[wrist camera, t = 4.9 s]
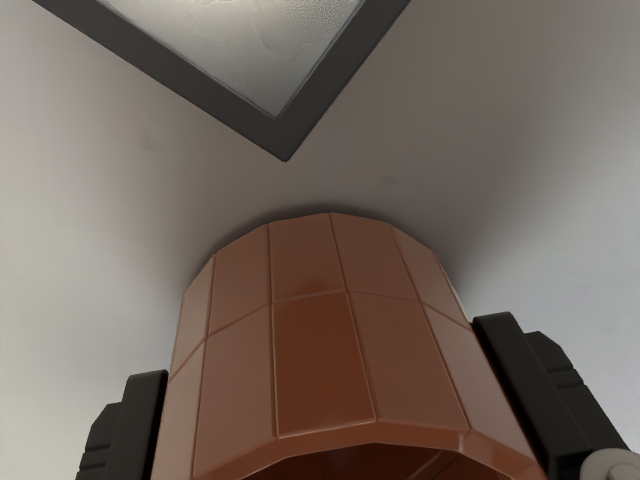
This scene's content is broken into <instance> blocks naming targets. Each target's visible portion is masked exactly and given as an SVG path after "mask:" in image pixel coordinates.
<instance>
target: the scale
mask: <svg viewBox="0 0 640 480" xmlns="http://www.w3.org/2000/svg"><path fill="white" fill-rule="evenodd" d="M32 1H34V2H35V3H37V4H39V5H40V6H42V7H43V8H45V9H46V10H48V11H49V12H51V13H53V14H54V15H56V16H57V17H59V18H60V19H62V20H63V21H65V22H67V23H68V24H70V25H71V26H73V27H74V28H76V29H77V30H79V31H80V32H82V33H84V34H85V35H87V36H88V37H90V38H91V39H93V40H94V41H96V42H98V43H99V44H101V45H102V46H104V47H105V48H107V49H108V50H110V51H112V52H113V53H115V54H116V55H118V56H119V57H121V58H122V59H124V60H126V61H127V62H129V63H130V64H132V65H133V66H135V67H136V68H138V69H139V70H141V71H143V72H144V73H146V74H147V75H149V76H150V77H152V78H153V79H155V80H157V81H158V82H160V83H161V84H163V85H164V86H166V87H167V88H169V89H171V90H172V91H174V92H175V93H177V94H178V95H180V96H181V97H183V98H185V99H186V100H188V101H189V102H191V103H192V104H194V105H195V106H197V107H199V108H200V109H202V110H203V111H205V112H206V113H208V114H209V115H211V116H212V117H214V118H216V119H217V120H219V121H220V122H222V123H223V124H225V125H226V126H228V127H230V128H231V129H233V130H234V131H236V132H237V133H239V134H240V135H242V136H244V137H245V138H247V139H248V140H250V141H251V142H253V143H254V144H256V145H258V146H259V147H261V148H262V149H264V150H265V151H267V152H268V153H270V154H271V155H273V156H275V157H276V158H278V159H279V160H281V161H283V162H287V161H289V160H290V158H291V157H292V156H293V154H294V153H295V152H296V151H297V149H298V148H299V147H300V145H301V144H302V143H303V141H304V140H305V139H306V137H307V136H308V135H309V134H310V132H311V131H312V130H313V128H314V127H315V126H316V124H317V123H318V122H319V120H320V119H321V118H322V116H323V115H324V114H325V113H326V111H327V110H328V109H329V107H330V106H331V105H332V103H333V102H334V101H335V99H336V98H337V97H338V95H339V94H340V93H341V92H342V90H343V89H344V88H345V86H346V85H347V84H348V82H349V81H350V80H351V78H352V77H353V76H354V75H355V73H356V72H357V71H358V69H359V68H360V67H361V65H362V64H363V63H364V61H365V60H366V59H367V57H368V56H369V55H370V54H371V52H372V51H373V50H374V48H375V47H376V46H377V44H378V43H379V42H380V40H381V39H382V38H383V36H384V35H385V34H386V33H387V31H388V30H389V29H390V27H391V26H392V25H393V23H394V22H395V21H396V19H397V18H398V17H399V15H400V14H401V13H402V12H403V10H404V9H405V8H406V6H407V5H408V4H409V2H410V1H411V0H366V1H365V3H364V4H363V5H362V7H361V8H360V10H359V11H358V12H357V14H356V15H355V16H354V18H353V19H352V21H351V22H350V23H349V25H348V26H347V27H346V29H345V30H344V31H343V33H342V34H341V36H340V37H339V38H338V40H337V41H336V42H335V44H334V45H333V47H332V48H331V49H330V51H329V52H328V53H327V55H326V56H325V58H324V59H323V60H322V62H321V63H320V64H319V66H318V67H317V68H316V70H315V71H314V73H313V74H312V75H311V77H310V78H309V79H308V81H307V82H306V84H305V85H304V86H303V88H302V89H301V90H300V92H299V93H298V95H297V96H296V97H295V99H294V100H293V101H292V103H291V104H290V105H289V107H288V108H287V110H286V111H285V112H284V114H283V115H282V116H281V118H279V119H278V120H274V119H271V118H270V117H268V116H267V115H265V114H264V113H262V112H261V111H259V110H258V109H256V108H255V107H253V106H252V105H250V104H249V103H247V102H246V101H244V100H243V99H241V98H240V97H238V96H237V95H235V94H234V93H232V92H231V91H229V90H228V89H226V88H225V87H223V86H222V85H220V84H219V83H217V82H216V81H214V80H213V79H212V78H210V77H209V76H207V75H206V74H204V73H203V72H201V71H200V70H198V69H197V68H195V67H194V66H192V65H191V64H189V63H188V62H186V61H185V60H183V59H182V58H180V57H179V56H177V55H176V54H174V53H173V52H171V51H170V50H168V49H167V48H165V47H164V46H162V45H161V44H159V43H158V42H157V41H155V40H154V39H152V38H151V37H149V36H148V35H146V34H145V33H143V32H142V31H140V30H139V29H137V28H136V27H134V26H133V25H131V24H130V23H128V22H127V21H125V20H124V19H122V18H121V17H119V16H118V15H116V14H115V13H113V12H112V11H110V10H109V9H107V8H106V7H104V6H103V5H101V4H100V3H99V2H97V1H96V0H32Z"/></svg>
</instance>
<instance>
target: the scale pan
mask: <svg viewBox="0 0 640 480" xmlns="http://www.w3.org/2000/svg"><path fill="white" fill-rule="evenodd" d="M96 1H97V2H99V3H100V4H101V5H103V6H104V7H106V8H107V9H109V10H110V11H112V12H113V13H115V14H116V15H118V16H119V17H121V18H122V19H124V20H125V21H127V22H128V23H130V24H131V25H133V26H134V27H136V28H137V29H139V30H140V31H142V32H143V33H145V34H146V35H148V36H149V37H151V38H152V39H154V40H155V41H157V42H158V43H159V44H161V45H162V46H164V47H165V48H167V49H168V50H170V51H171V52H173V53H174V54H176V55H177V56H179V57H180V58H182V59H183V60H185V61H186V62H188V63H189V64H191V65H192V66H194V67H195V68H197V69H198V70H200V71H201V72H203V73H204V74H206V75H207V76H209V77H210V78H212V79H213V80H214V81H216V82H217V83H219V84H220V85H222V86H223V87H225V88H226V89H228V90H229V91H231V92H232V93H234V94H235V95H237V96H238V97H240V98H241V99H243V100H244V101H246V102H247V103H249V104H250V105H252V106H253V107H255V108H256V109H258V110H259V111H261V112H262V113H264V114H265V115H267V116H268V117H270V118H271V119H274V120H278V119H279V118H281V116H282V115H283V114H284V112H285V111H286V110H287V108H288V107H289V105H290V104H291V103H292V101H293V100H294V99H295V97H296V96H297V95H298V93H299V92H300V90H301V89H302V88H303V86H304V85H305V84H306V82H307V81H308V79H309V78H310V77H311V75H312V74H313V73H314V71H315V70H316V68H317V67H318V66H319V64H320V63H321V62H322V60H323V59H324V58H325V56H326V55H327V53H328V52H329V51H330V49H331V48H332V47H333V45H334V44H335V42H336V41H337V40H338V38H339V37H340V36H341V34H342V33H343V31H344V30H345V29H346V27H347V26H348V25H349V23H350V22H351V21H352V19H353V18H354V16H355V15H356V14H357V12H358V11H359V10H360V8H361V7H362V5H363V4H364V3H365V1H366V0H96Z"/></svg>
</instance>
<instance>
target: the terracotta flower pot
mask: <svg viewBox="0 0 640 480" xmlns="http://www.w3.org/2000/svg"><path fill="white" fill-rule="evenodd" d="M150 480H551V479H550V477H549V475H548V473H547V471H546V469H545V467H544V465H543V463H542V461H541V459H540V457H539V455H538V453H537V451H536V449H535V447H534V445H533V443H532V441H531V439H530V437H529V435H528V433H527V431H526V429H525V427H524V425H523V423H522V421H521V419H520V417H519V415H518V413H517V411H516V409H515V407H514V405H513V403H512V401H511V399H510V397H509V395H508V393H507V391H506V389H505V387H504V385H503V383H502V381H501V379H500V377H499V375H498V374H497V371H496V369H495V367H494V365H493V363H492V361H491V359H490V357H489V355H488V353H487V351H486V349H485V347H484V345H483V343H482V341H481V339H480V337H479V335H478V333H477V331H476V329H475V328H474V326H473V324H472V322H471V320H470V318H469V316H468V314H467V312H466V310H465V308H464V306H463V304H462V302H461V300H460V298H459V296H458V294H457V292H456V290H455V288H454V286H453V284H452V283H451V281H450V279H449V278H448V276H447V274H446V272H445V271H444V269H443V267H442V265H441V264H440V262H439V260H438V259H437V257H436V255H435V253H434V252H432V251H431V250H430V249H428V248H427V247H425V246H424V245H422V244H421V243H419V242H418V241H416V240H415V239H413V238H411V237H410V236H408V235H407V234H405V233H404V232H402V231H401V230H399V229H398V228H396V227H395V226H393V225H391V224H388V223H387V222H384V221H379V220H374V219H368V218H363V217H357V216H352V215H347V214H341V213H336V212H330V213H329V214H328V213H320V214H314V215H308V216H302V217H296V218H290V219H284V220H278V221H272V222H270V223H269V225H268V224H267V223H266V224H263V225H261V226H260V227H258V228H256V229H254V230H253V231H251V232H249V233H247V234H246V235H244V236H242V237H240V238H239V239H237V240H235V241H233V242H232V243H230V244H228V245H226V246H225V247H223V248H221V249H219V250H218V251H217V253H215V254H214V255H213V256H212V257H211V258H210V260H209V261H208V262H207V264H206V265H205V266H204V268H203V269H202V270H201V271H200V273H199V274H198V275H197V277H196V278H195V279H194V281H193V282H192V283H191V285H190V286H189V287H188V289H187V290H186V291H185V295H184V296H183V297H182V303H181V309H180V314H179V320H178V326H177V331H176V337H175V343H174V348H173V354H172V360H171V365H170V371H169V377H168V382H167V388H166V394H165V399H164V405H163V411H162V416H161V422H160V428H159V433H158V439H157V445H156V450H155V456H154V462H153V467H152V473H151V479H150Z"/></svg>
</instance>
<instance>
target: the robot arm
mask: <svg viewBox="0 0 640 480" xmlns="http://www.w3.org/2000/svg"><path fill="white" fill-rule="evenodd" d="M472 324H473V326H474V328H475V329H476V331H477V333H478V335H479V337H480V339H481V341H482V343H483V345H484V347H485V349H486V351H487V353H488V355H489V357H490V359H491V361H492V363H493V365H494V367H495V369H496V371H497V374H498V375H499V377H500V379H501V381H502V383H503V385H504V387H505V389H506V391H507V393H508V395H509V397H510V399H511V401H512V403H513V405H514V407H515V409H516V411H517V413H518V415H519V417H520V419H521V421H522V423H523V425H524V427H525V429H526V431H527V433H528V435H529V437H530V439H531V441H532V443H533V445H534V447H535V449H536V451H537V453H538V455H539V457H540V459H541V461H542V463H543V465H544V467H545V469H546V471H547V473H548V475H549V477H550V479H551V480H640V454H638V453H635V452H632V451H631V450H630V449H629V448H628V446H627V445H626V444H625V442H624V441H623V439H622V438H621V436H620V435H619V433H618V432H617V430H616V429H615V428H614V426H613V425H612V423H611V422H610V420H609V419H608V417H607V416H606V414H605V413H604V411H603V410H602V408H601V407H600V405H599V404H598V402H597V401H596V399H595V398H594V396H593V395H592V393H591V392H590V390H589V389H588V387H587V386H586V385H584V383H583V380H582V378H581V377H580V375H579V374H578V372H577V371H576V369H574V368H573V365H572V363H571V362H570V360H569V359H568V357H567V356H566V354H565V353H564V351H563V350H562V348H561V347H560V346H559V345H558V344H557V343H555V342H554V341H552V340H551V339H550V338H548V337H547V336H545V335H544V334H543V333H541V332H540V331H536V332H531V333H525V334H524V333H523V331H522V330H521V328H520V326H519V325H518V323H517V321H516V320H515V318H514V316H513V315H512V314H511V313H510V312H508V311H507V312H501V313H495V314H489V315H484V316H478V317H474V318H473V322H472ZM168 377H169V373H168V371H167V370H166V369H164V370H158V371H152V372H146V373H140V374H135V375H131V376H129V378H128V380H127V383H126V387H125V391H124V395H123V398H122V402H118V403H112V404H107V405H106V407H105V408H104V410H103V411H102V412H101V414H100V415H99V416H98V418H97V419H96V420H95V422H94V423H93V424H92V426H91V429H90V432H89V436H88V439H87V442H86V446H85V453H83V456H82V459H81V462H80V466H79V469H80V470H79V472H77V476H76V479H75V480H150V479H151V473H152V467H153V462H154V456H155V450H156V445H157V439H158V433H159V428H160V422H161V416H162V411H163V405H164V399H165V394H166V388H167V382H168Z"/></svg>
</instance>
